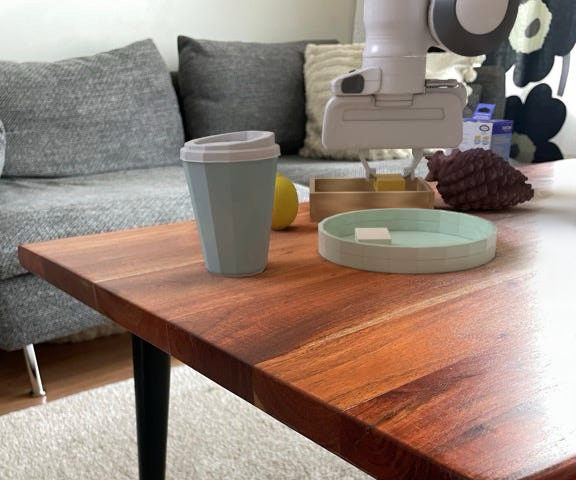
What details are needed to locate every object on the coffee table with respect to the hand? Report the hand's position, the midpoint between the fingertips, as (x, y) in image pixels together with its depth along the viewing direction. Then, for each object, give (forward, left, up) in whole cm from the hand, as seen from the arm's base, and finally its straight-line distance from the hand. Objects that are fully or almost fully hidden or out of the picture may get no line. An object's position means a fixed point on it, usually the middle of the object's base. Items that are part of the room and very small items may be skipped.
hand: (389, 180), depth 107 cm
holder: (+3, 0, -5) cm, 6 cm away
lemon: (+16, +11, -5) cm, 20 cm away
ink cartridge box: (-16, -16, -5) cm, 23 cm away
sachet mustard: (0, 0, -1) cm, 1 cm away
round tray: (0, +23, -5) cm, 24 cm away
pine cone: (-14, -4, -5) cm, 15 cm away
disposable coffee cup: (+20, +31, -5) cm, 37 cm away
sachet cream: (+4, +23, -4) cm, 24 cm away
